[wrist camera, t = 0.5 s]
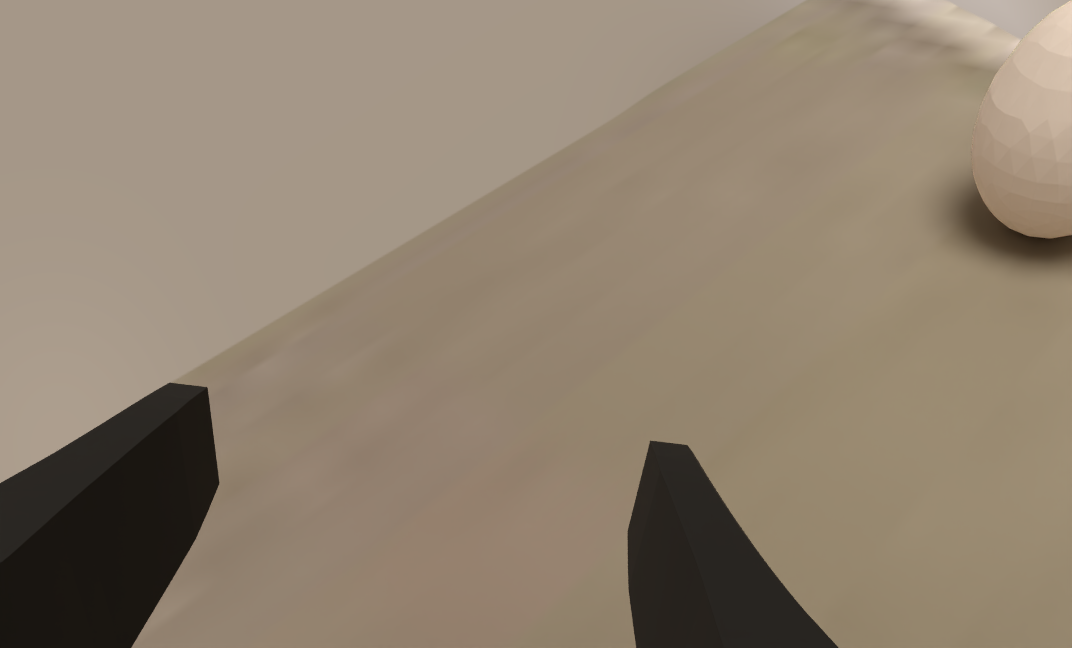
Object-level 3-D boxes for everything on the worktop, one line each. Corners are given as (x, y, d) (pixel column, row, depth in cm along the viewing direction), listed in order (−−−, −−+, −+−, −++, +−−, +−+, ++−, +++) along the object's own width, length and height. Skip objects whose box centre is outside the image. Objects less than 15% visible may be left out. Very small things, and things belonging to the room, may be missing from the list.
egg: (990, 288, 36) (1059, 58, 27) (931, 194, 41) (974, -23, 33) (1161, 262, 35) (1287, 15, 26) (1078, 168, 40) (1162, -63, 32)
